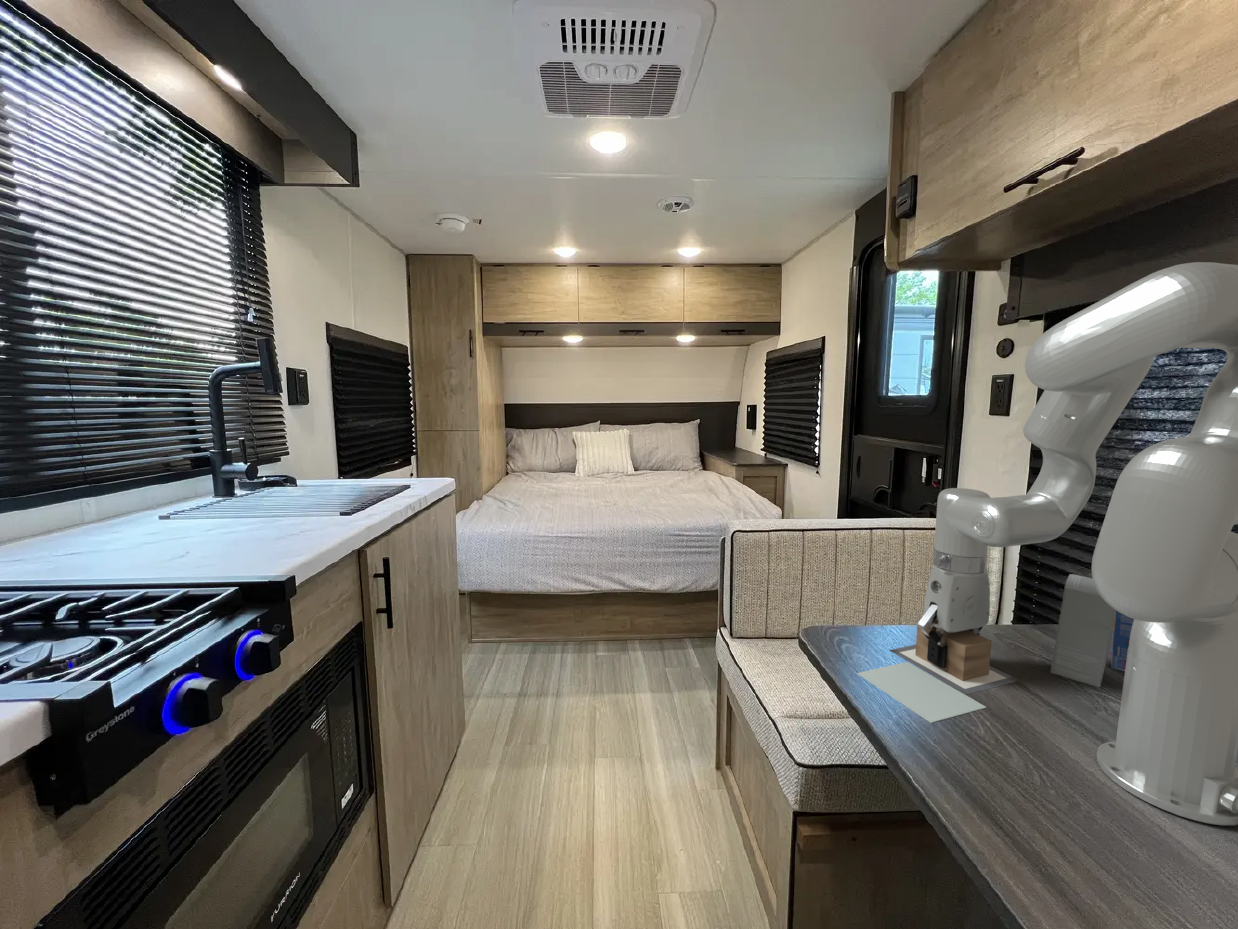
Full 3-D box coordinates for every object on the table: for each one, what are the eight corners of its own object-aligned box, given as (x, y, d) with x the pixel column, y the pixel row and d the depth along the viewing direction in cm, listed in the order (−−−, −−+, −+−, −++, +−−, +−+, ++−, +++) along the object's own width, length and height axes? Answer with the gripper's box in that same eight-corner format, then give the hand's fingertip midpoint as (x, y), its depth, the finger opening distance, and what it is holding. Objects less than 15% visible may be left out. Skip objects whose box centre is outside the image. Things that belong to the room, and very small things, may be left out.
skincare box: (1054, 656, 92) (1063, 571, 90) (1109, 671, 87) (1120, 581, 85) (1048, 674, 86) (1058, 584, 84) (1106, 691, 81) (1119, 596, 79)
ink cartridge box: (1110, 648, 95) (1119, 573, 93) (1153, 658, 91) (1164, 580, 89) (1108, 668, 88) (1118, 587, 86) (1154, 680, 84) (1166, 596, 82)
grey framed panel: (1019, 686, 84) (1019, 680, 84) (966, 700, 80) (966, 694, 80) (937, 645, 98) (937, 639, 98) (888, 655, 94) (888, 650, 94)
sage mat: (985, 713, 77) (986, 707, 77) (930, 728, 73) (931, 722, 73) (907, 667, 90) (907, 661, 90) (857, 678, 87) (857, 673, 86)
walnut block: (988, 674, 86) (991, 640, 85) (962, 680, 84) (965, 646, 83) (940, 649, 94) (942, 618, 94) (915, 655, 92) (917, 623, 92)
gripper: (941, 574, 80) (932, 681, 83) (1017, 562, 86) (1008, 663, 88) (901, 560, 88) (894, 659, 90) (974, 550, 93) (966, 643, 95)
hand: (950, 660), depth 89 cm, fingers closed on walnut block, 6 cm apart
